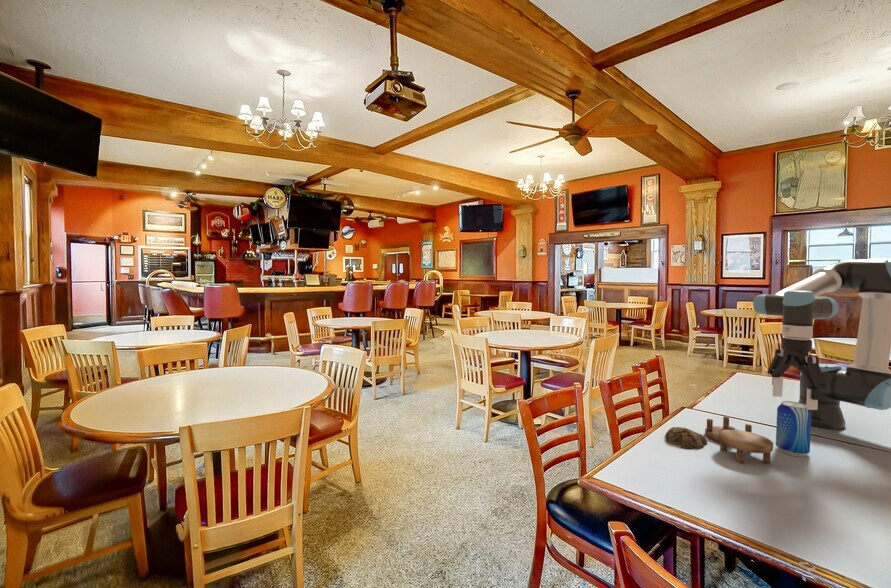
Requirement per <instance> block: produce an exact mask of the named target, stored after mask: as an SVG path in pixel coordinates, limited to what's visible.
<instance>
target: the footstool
mask: <svg viewBox="0 0 891 588" xmlns="http://www.w3.org/2000/svg"><path fill="white" fill-rule="evenodd" d="M718 439H719V441H720V443H719V445H720V446H719V451H720V452H723V453H724V452H725V453H727V450H728V449H727V448H728V447H729V448H732V449H735V450H736V462H737V463H738V464H744V461H745V452H747V453H751V454H752V453H753V454H762V462H763V463H764V464H768V465H769V464H771V457H772V455H771V454H772V452H773V451H774V442H773V441H772V439H769V438H768V437H766V436H763V435H760V434H758V433H755V432H752V433H751V432H746V431H745V430H740V429H737V430H722V431H720V432H719V433H718Z"/></svg>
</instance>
